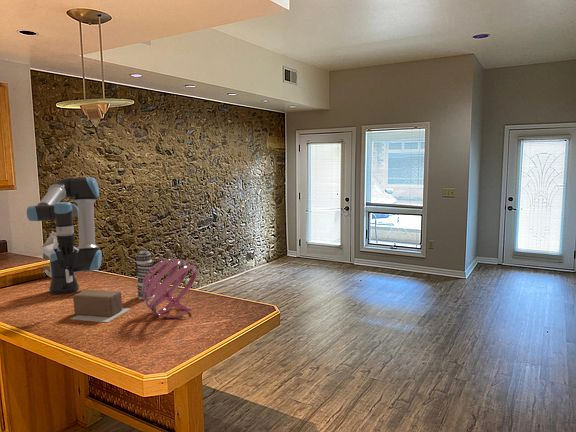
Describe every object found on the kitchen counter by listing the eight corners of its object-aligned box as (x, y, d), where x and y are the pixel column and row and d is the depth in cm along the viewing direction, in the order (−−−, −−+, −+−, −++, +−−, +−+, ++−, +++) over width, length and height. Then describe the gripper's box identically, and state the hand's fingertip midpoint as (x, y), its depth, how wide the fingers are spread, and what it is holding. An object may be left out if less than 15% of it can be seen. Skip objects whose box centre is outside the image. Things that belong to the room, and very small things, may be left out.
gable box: (43, 272, 293) (39, 231, 289) (64, 269, 302) (61, 229, 298) (52, 279, 277) (48, 235, 273) (75, 275, 285) (71, 232, 282)
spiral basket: (221, 272, 209) (179, 238, 215) (181, 302, 186) (135, 264, 193) (205, 308, 225) (166, 276, 231) (166, 340, 202) (124, 303, 208)
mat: (95, 306, 223) (95, 306, 223) (130, 309, 218) (130, 308, 218) (70, 319, 205) (70, 318, 205) (107, 322, 200) (107, 321, 200)
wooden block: (73, 315, 210) (111, 317, 206) (72, 295, 208) (109, 297, 204) (87, 308, 219) (123, 310, 215) (85, 288, 218) (121, 290, 214)
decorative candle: (148, 300, 231) (145, 253, 228) (133, 298, 234) (130, 253, 231) (158, 295, 240) (156, 250, 236) (144, 293, 243) (141, 249, 239)
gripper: (48, 235, 208) (52, 283, 212) (71, 236, 206) (76, 284, 209) (59, 232, 216) (63, 279, 219) (82, 233, 213) (86, 280, 216)
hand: (69, 281), depth 214 cm, fingers closed
